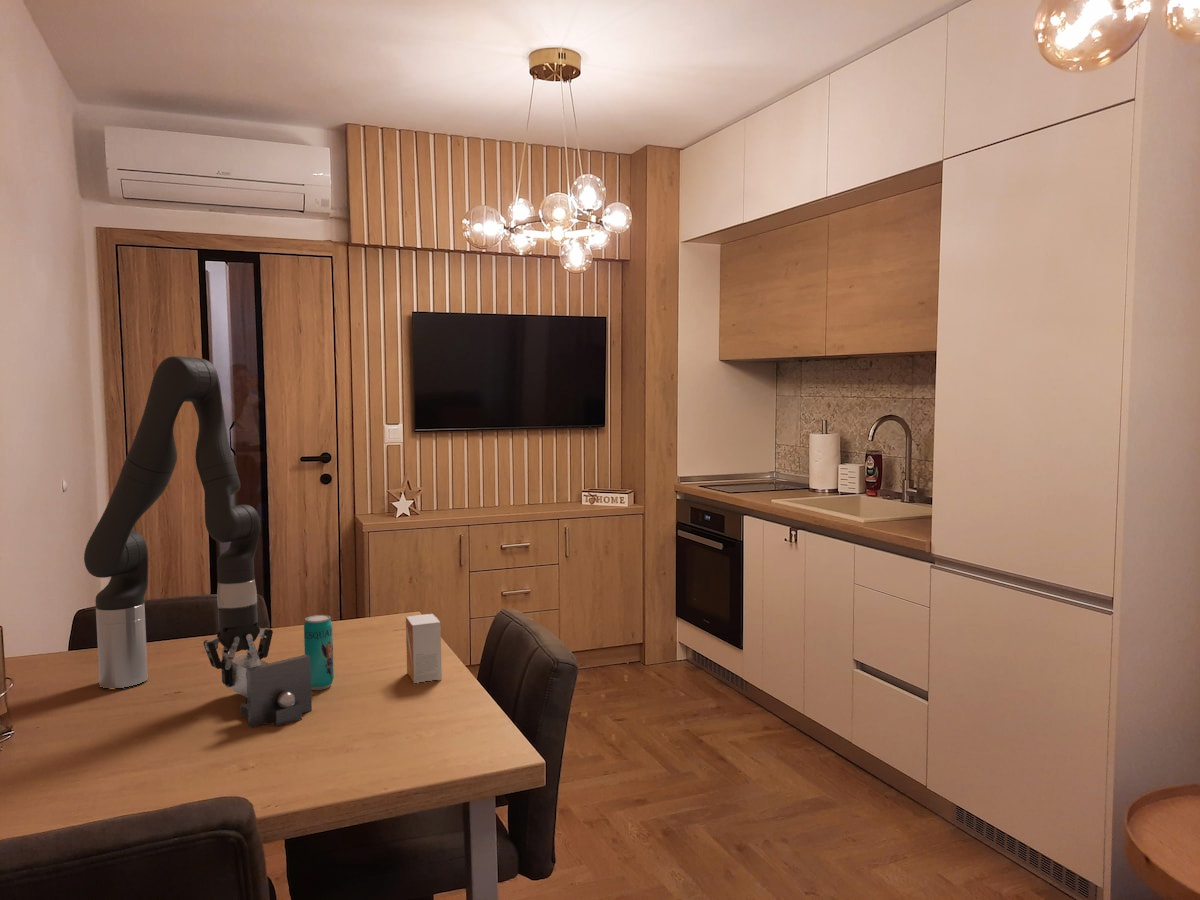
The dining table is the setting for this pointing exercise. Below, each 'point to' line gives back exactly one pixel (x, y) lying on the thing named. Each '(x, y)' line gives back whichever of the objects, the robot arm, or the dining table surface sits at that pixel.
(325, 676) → the beverage can
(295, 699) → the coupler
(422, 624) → the small box
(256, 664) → the grey rectangular block
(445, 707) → the dining table surface
